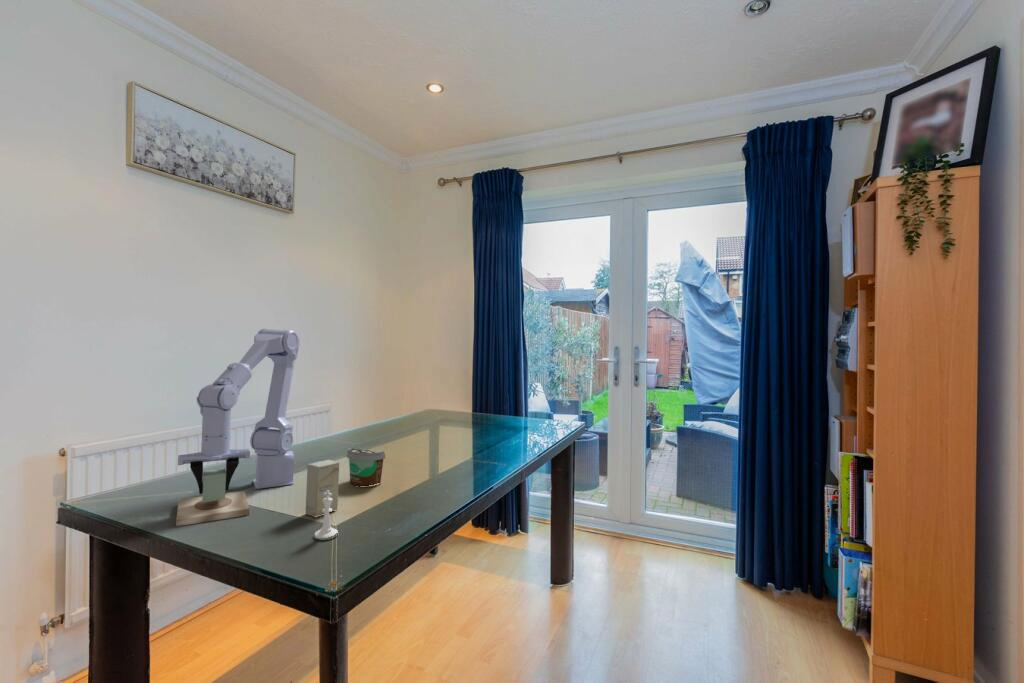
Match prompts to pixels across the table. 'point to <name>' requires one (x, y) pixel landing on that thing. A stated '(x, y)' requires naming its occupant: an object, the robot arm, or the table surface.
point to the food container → (365, 467)
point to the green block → (214, 484)
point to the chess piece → (326, 519)
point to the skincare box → (321, 486)
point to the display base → (211, 508)
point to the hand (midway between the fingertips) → (213, 490)
